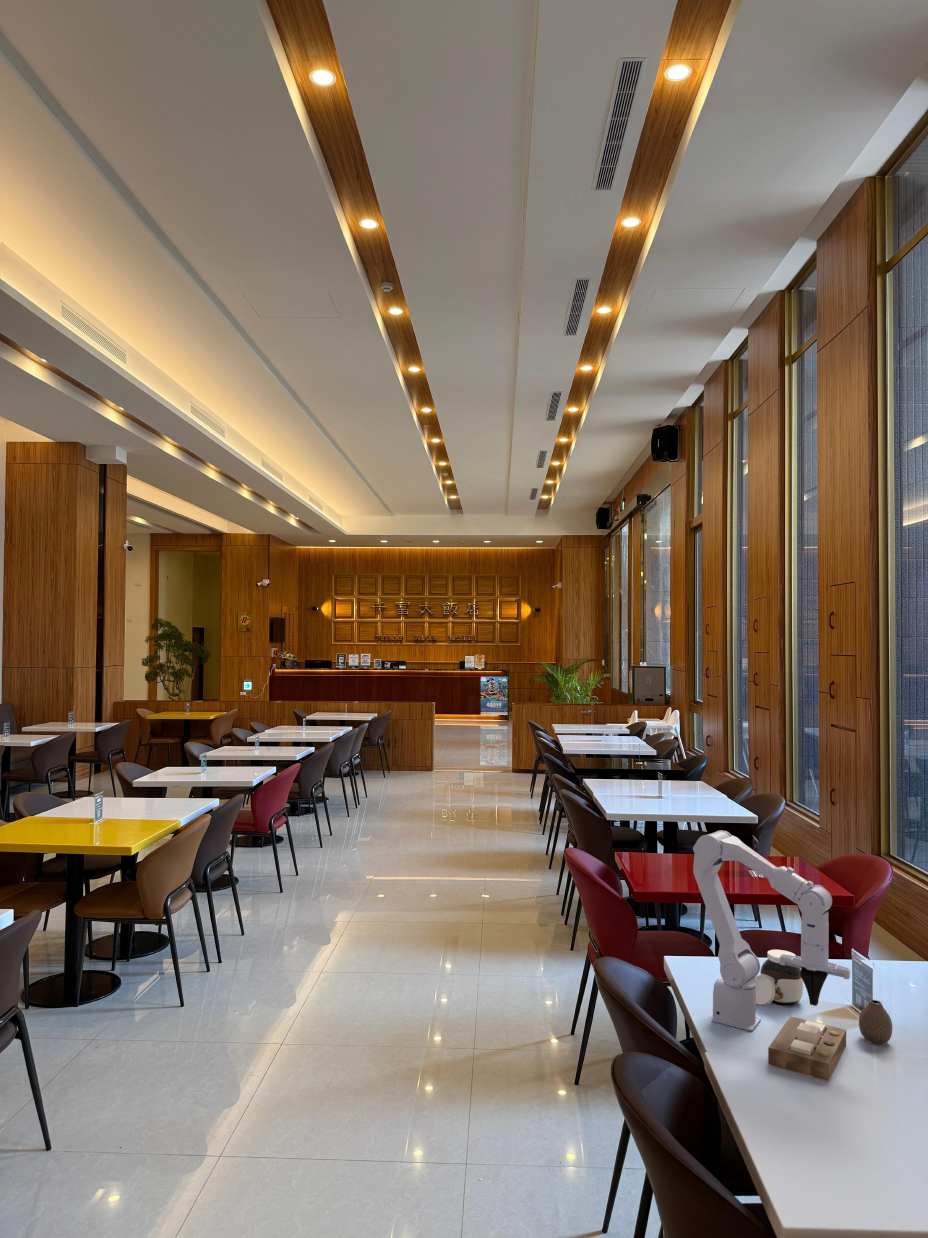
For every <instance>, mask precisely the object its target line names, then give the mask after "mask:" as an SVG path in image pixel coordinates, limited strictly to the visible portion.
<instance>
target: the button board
mask: <svg viewBox="0 0 928 1238" xmlns="http://www.w3.org/2000/svg"><path fill="white" fill-rule="evenodd" d="M806 1021H809V1020H807V1019H803V1018H799V1017H795V1016H789V1017H788V1018H787V1020H786V1021H785V1023H784V1024H783V1026H782V1027H781V1029H780V1030H779V1032H778V1033H777V1035H776V1036H775V1037H774V1038H773V1040H772V1042H771V1043H770V1045H768V1047H767V1049H768V1051H767V1053H768V1054H767V1055H768V1056H767V1059H768V1060H767V1064H768V1065H770V1066H773V1067H776V1068H780V1069H784V1070H787V1071H789V1072H790V1071H791V1072H795V1073H798V1074H802V1075H804V1076H808V1077H812V1078H817V1079H818V1080H822V1081H823V1080H824V1081H827V1082H830V1080H831V1078H832V1076H833V1074H834V1072H835V1070H836V1068H837V1066H838V1063H839V1061H840V1060H841V1057H842V1055H843V1054H844V1052H845V1049H846V1047H847V1029H844V1028H840V1027H835V1026H832V1025H829V1024H824V1023H822V1024H823V1025H825V1034H824V1035H820V1042H819V1044H818V1045H814V1053H813V1055H812V1056H811V1055H807V1054H803V1053H799V1052H796V1051H792V1050H790V1046H791V1044H792V1042H793V1041H794V1039H796V1040H797V1028H798V1026H799V1025H800V1023H804V1024H805V1022H806ZM810 1021H811V1022H813V1021H812V1020H810ZM814 1022H815V1021H814ZM815 1023H817V1022H815ZM818 1023H819V1022H818ZM819 1024H821V1023H819Z"/></svg>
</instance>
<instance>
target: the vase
mask: <svg viewBox="0 0 928 1238" xmlns="http://www.w3.org/2000/svg"><path fill="white" fill-rule="evenodd" d="M858 1027H859V1031H860V1034H861V1036H862V1037H863V1038H864V1039H865V1040H866V1041H867V1042H868V1043H871V1044H873V1045H877V1046H881V1045H885V1044H886V1043H888V1042H889V1041H890V1040H891V1037H892V1035H893V1022H892V1019H891V1016H890V1014H889V1013H888V1011H887V1010H886V1009H885V1008H884V1006H883V1004H882V1002H881V1001H880V1000H877V999H870V1000H869V1001H868V1004H867V1005H865V1007H864V1008H863V1009H862V1010H861V1011H860V1013H859V1016H858Z"/></svg>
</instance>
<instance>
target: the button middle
mask: <svg viewBox="0 0 928 1238" xmlns="http://www.w3.org/2000/svg"><path fill="white" fill-rule="evenodd" d="M797 1040H800V1041H804V1042H807V1043H811V1044H814V1045H818V1044H819V1042H820V1027H817V1026H813V1025H808V1024H804V1023H800V1025H799V1026H798V1028H797Z"/></svg>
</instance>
